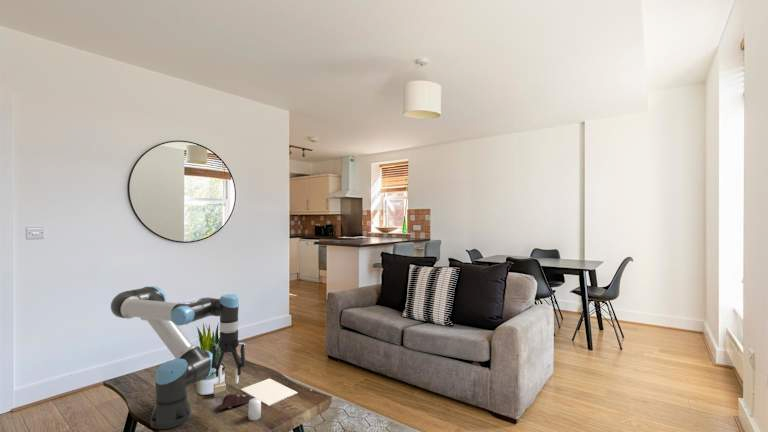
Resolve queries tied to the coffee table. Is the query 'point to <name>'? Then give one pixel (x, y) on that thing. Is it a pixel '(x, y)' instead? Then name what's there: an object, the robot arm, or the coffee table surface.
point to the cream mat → (269, 391)
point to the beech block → (219, 389)
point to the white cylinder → (254, 409)
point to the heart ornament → (234, 400)
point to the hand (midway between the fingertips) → (228, 382)
